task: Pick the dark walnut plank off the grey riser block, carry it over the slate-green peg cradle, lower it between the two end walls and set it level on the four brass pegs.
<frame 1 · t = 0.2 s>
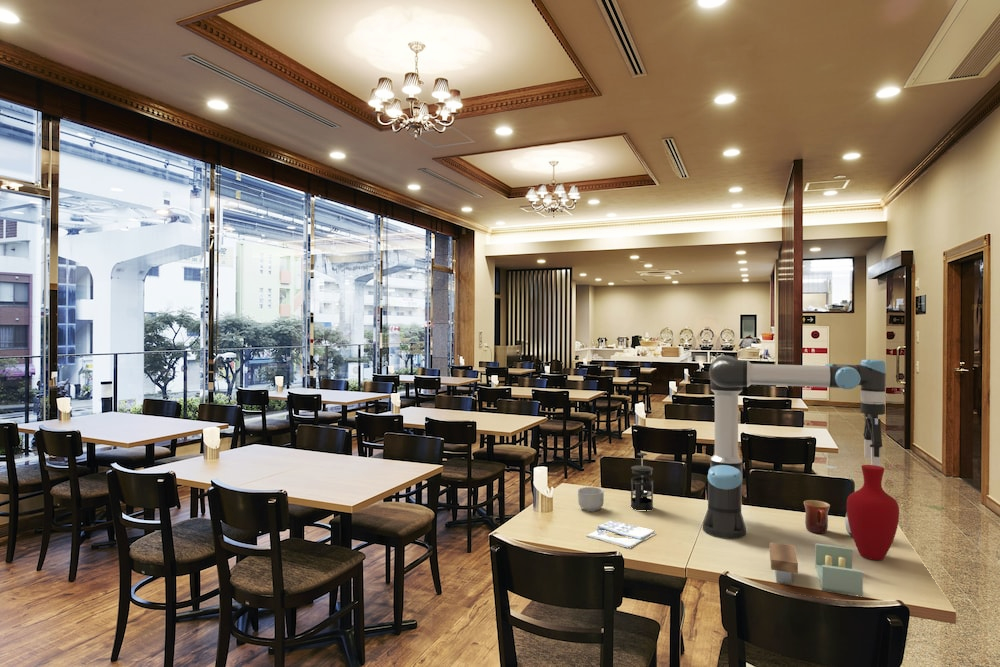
hand: (872, 461, 211), 28 cm above the table, fingers open, 13 cm apart
riser: (782, 576, 179), on the table
vase: (871, 557, 195), on the table
teacup: (589, 508, 247), on the table
board: (783, 562, 179), point 4 cm above the table, touching riser
spread jar: (863, 536, 215), on the table
french press: (641, 508, 246), on the table
peg cradle: (837, 579, 177), on the table
mug: (817, 532, 218), on the table
folded cloth napkin: (619, 537, 215), on the table
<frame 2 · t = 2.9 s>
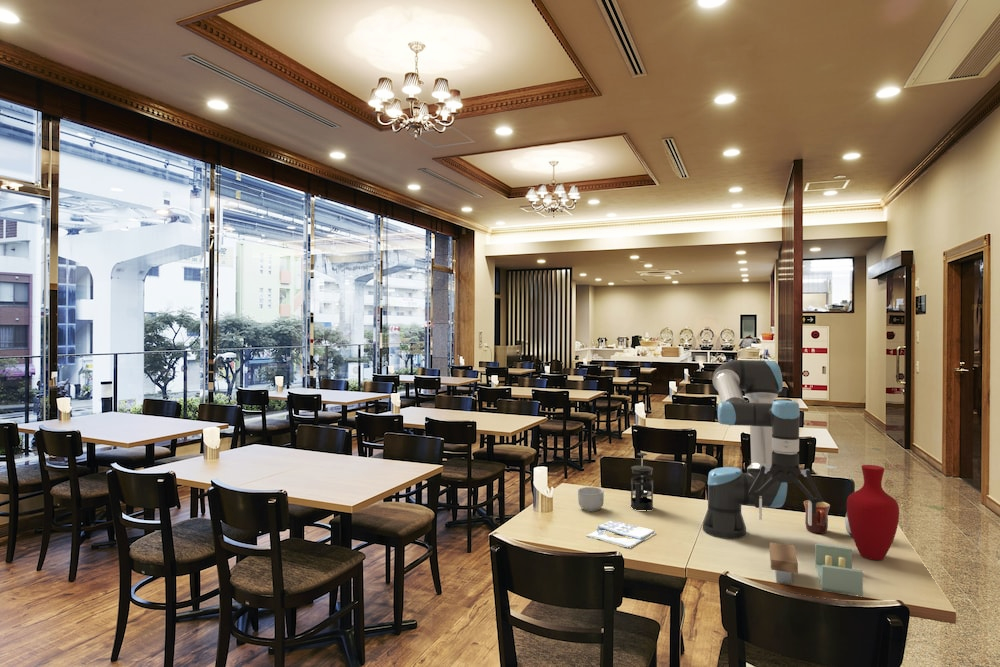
hand: (784, 521, 179), 17 cm above the table, fingers open, 13 cm apart
nothing on the table moved.
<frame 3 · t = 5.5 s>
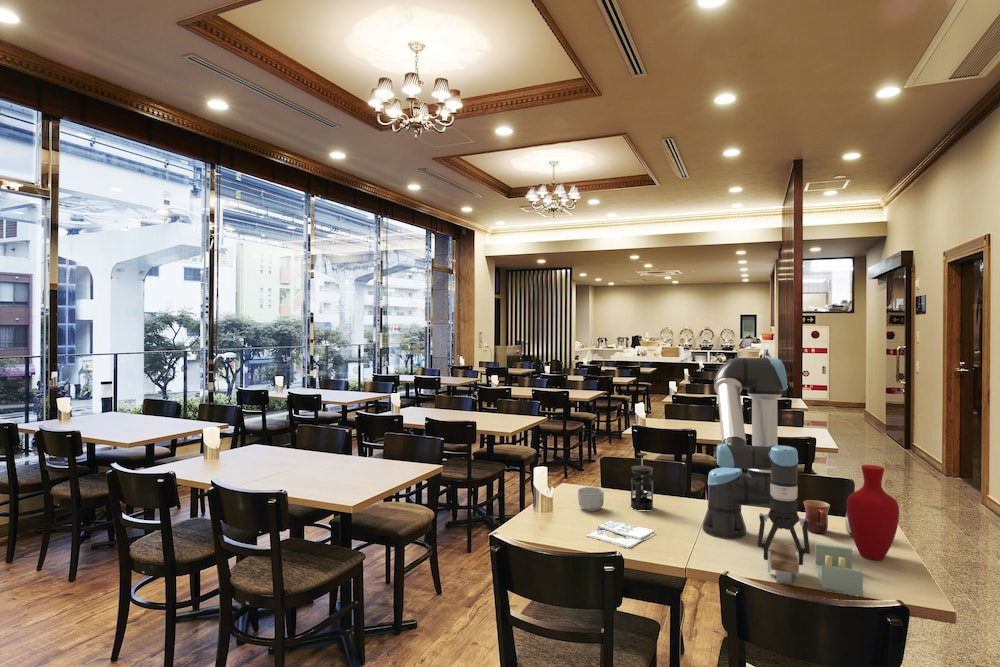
hand: (782, 572, 179), 1 cm above the table, fingers closed on board, 7 cm apart
board: (783, 562, 179), point 5 cm above the table, touching gripper, riser
everything else where it was.
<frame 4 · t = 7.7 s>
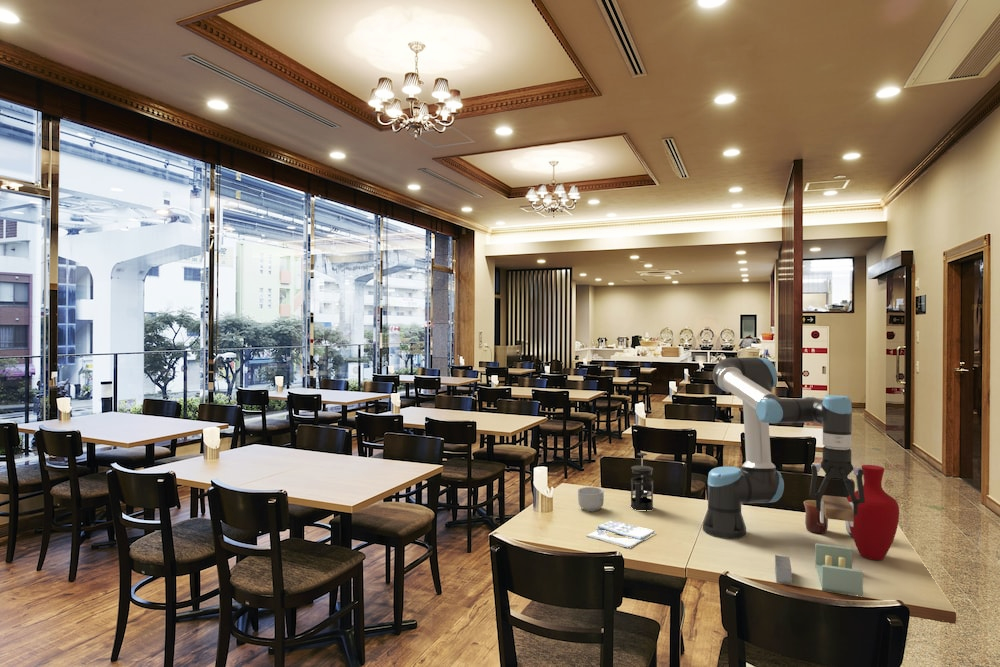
hand: (836, 523, 177), 17 cm above the table, fingers closed on board, 7 cm apart
board: (836, 512, 177), point 20 cm above the table, touching gripper
everything else where it was.
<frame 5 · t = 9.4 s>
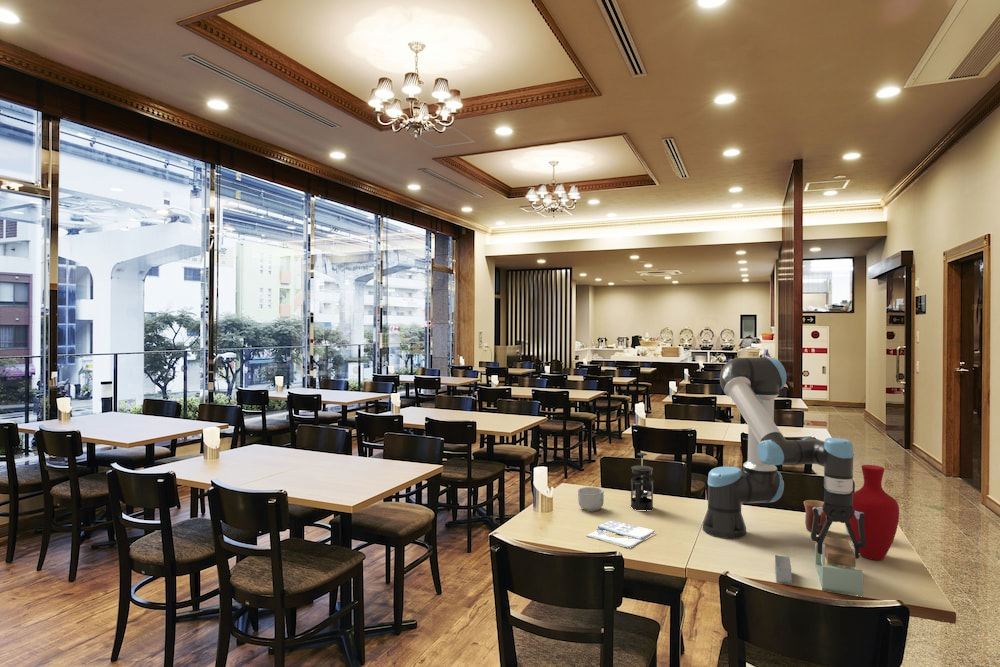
hand: (837, 566, 177), 4 cm above the table, fingers closed on board, 7 cm apart
board: (837, 555, 177), point 7 cm above the table, touching gripper
everything else where it was.
when the fingers open (3 cm above the table, at t = 10.3 s): board drops 1 cm, resting on peg cradle.
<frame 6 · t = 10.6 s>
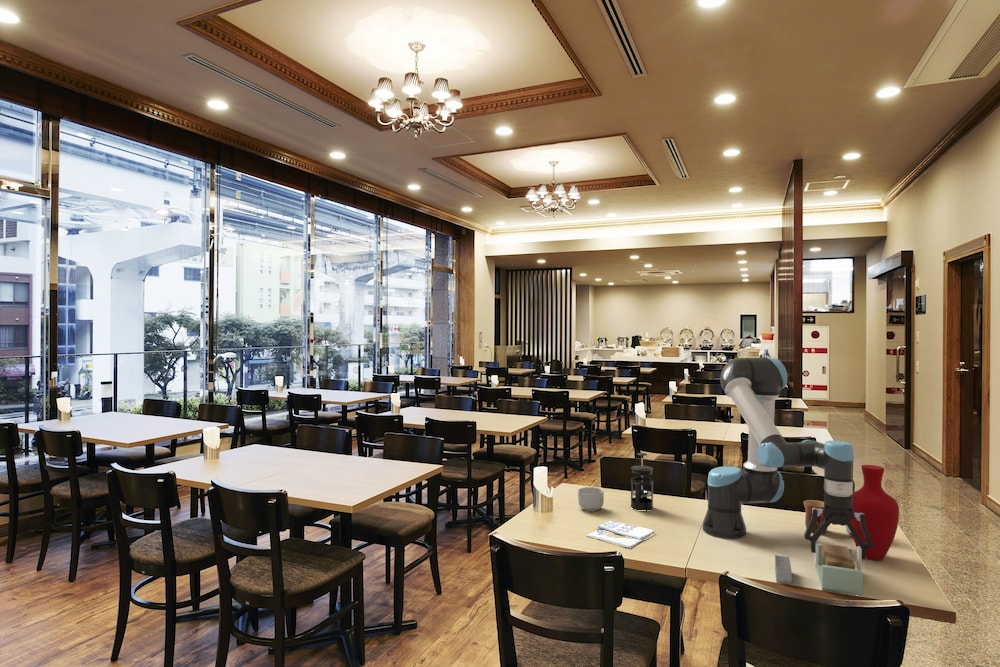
hand: (837, 566, 177), 4 cm above the table, fingers open, 10 cm apart
board: (837, 563, 177), point 5 cm above the table, touching peg cradle
everything else where it was.
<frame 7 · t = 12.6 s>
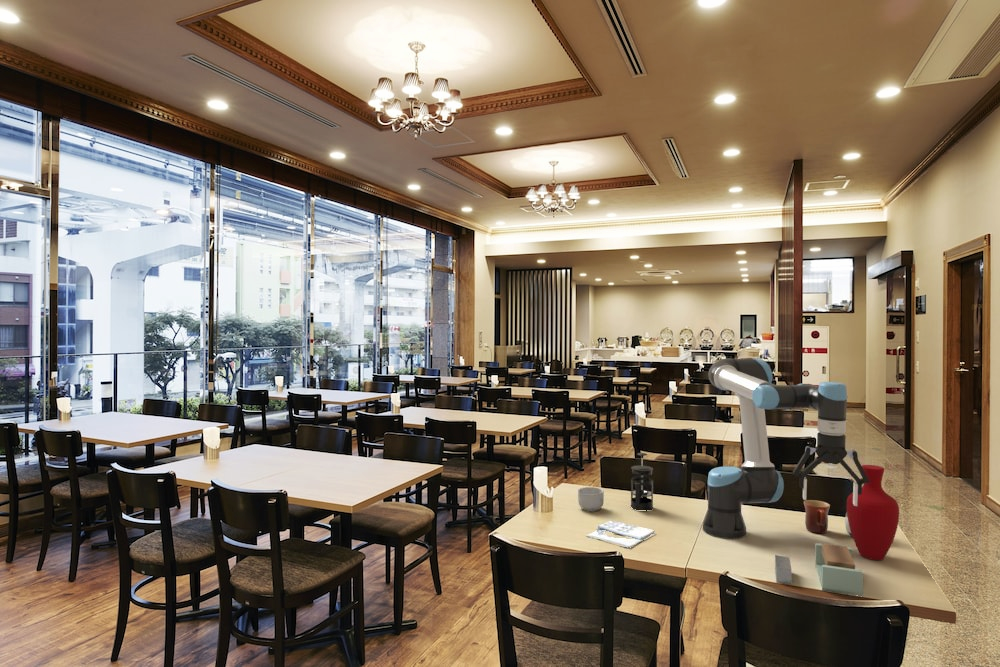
hand: (829, 501, 180), 23 cm above the table, fingers open, 13 cm apart
nothing on the table moved.
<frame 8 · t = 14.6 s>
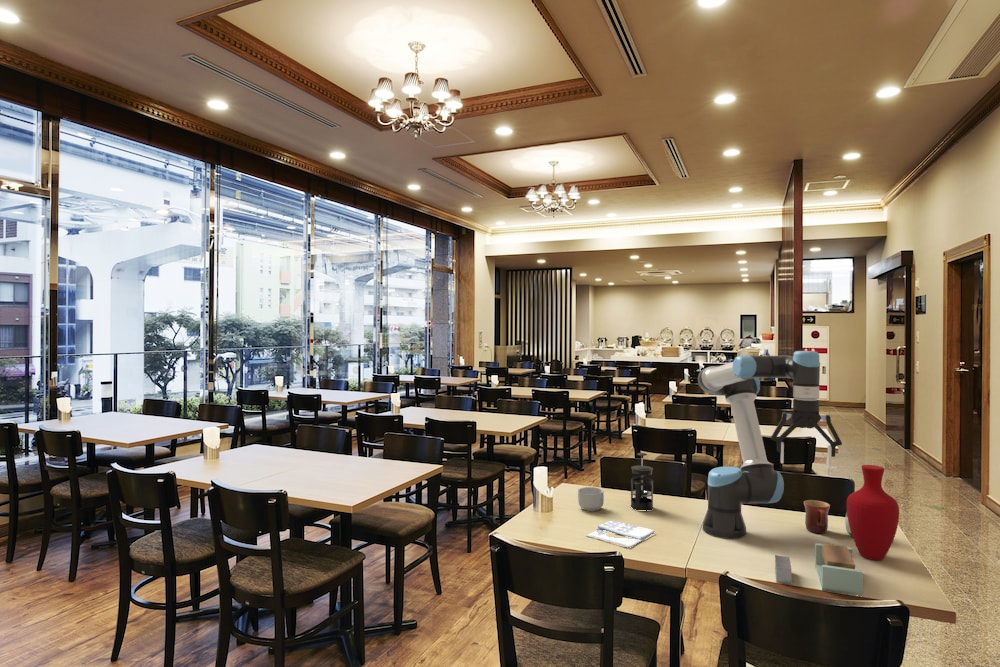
hand: (805, 464, 190), 32 cm above the table, fingers open, 13 cm apart
nothing on the table moved.
at the end: board 0.0 cm off-centre on the peg cradle, point 5.0 cm above the peg cradle's base; board tilted 0°; the gripper is holding nothing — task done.
